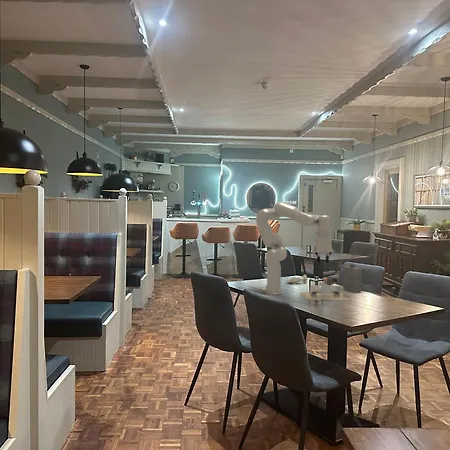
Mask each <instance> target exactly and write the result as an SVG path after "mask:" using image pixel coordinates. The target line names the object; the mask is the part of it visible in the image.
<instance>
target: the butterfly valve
mask: <svg viewBox="0 0 450 450" xmlns="http://www.w3.org/2000/svg"><path fill="white" fill-rule="evenodd" d="M300 260H301V265H302V270H303V275H302V277H296V276H292V277H291V278H289V279H287V280H285V282H286V283H288V284H294V285H295V284H298V283H300V282H302V283H304V284H306V283H307V281H308V276H307V271H306V265H305V261H304V258H303V257H301V258H300Z"/></svg>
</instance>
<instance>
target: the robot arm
mask: <svg viewBox="0 0 450 450" xmlns="http://www.w3.org/2000/svg"><path fill="white" fill-rule="evenodd" d="M282 217H285V218H288V219H290V220H292V221H295V222H296V223H297V224H300V225H303V226H306V227H317V232H315V233H314V235H316V238H315V243H314V248H312V250H311V252H312V253H314V255H316V261H317V263H318V264H319V263H321V256H320V255H321V253H325V255H326V256H325V263H328V262H329V259H330V256H331V255H332V254H333V253H334V252H335V250H334V248H333V245H332V242H333V241H332V236H330V233H331V231H330V230H331V229H330V227H331V223H330V222H331V217H330V216H329V215H328V214H327V215H323V214H322V215H320V214H319V215H318V214H307V213H305V212H302V211H301V210H299V208H298V207H297V206H294V205H291V204H290V203H289V202H288V201H278V202H276V203H275V204H274V205H273V208H262V209H260V210H259V211H258V212H257V214H256V217H255V218H256V219H255V221H256V225H257V227H258V230H259V233H260V237H261V239H262V241H263V245H264V246H265V247H267V248H269V249H268V250H267V252H266V255H265V258H266V268H267V269H266V286H264V287H263V286H262V287H259V290H260V291H264V293H265V294H266V295H274V296H277V295H282V294H283V293H284V292H283V291H282V290H281V279H282V278H281V276H282V275H281V274H282V271H281V270H282V267H281V263H280V262H281V261H284V260H285V259H286V258H287V256H288V252H287V249H286V246H285V243H284V240H283V238H282V236H281V235H280V234H279V233H275V232H274V231H273V229H272V226H271V224H270V222H269V221H275V220H278V219H280V218H282Z"/></svg>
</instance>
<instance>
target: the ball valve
mask: <svg viewBox="0 0 450 450" xmlns="http://www.w3.org/2000/svg"><path fill="white" fill-rule="evenodd" d="M318 284H319V285H310V286H309V292H300V293H299V294H300V296H301V297H302V298H303V299H304V300H305V301H351V300H352V297H350V296H349V295H347V294H345V293H344V292H342V287H341V285H327V281H325V280H323V281H319V282H318Z"/></svg>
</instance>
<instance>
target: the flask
mask: <svg viewBox="0 0 450 450" xmlns="http://www.w3.org/2000/svg"><path fill="white" fill-rule="evenodd" d="M362 271H363V269H362V268H361V267H357V266H355V263H349V265H344V266H343V281H342V282H343V284H342V285H343V286H342V288H343V291H346V292H348V293H349V292H351V293H355V294H360V293H362Z"/></svg>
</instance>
